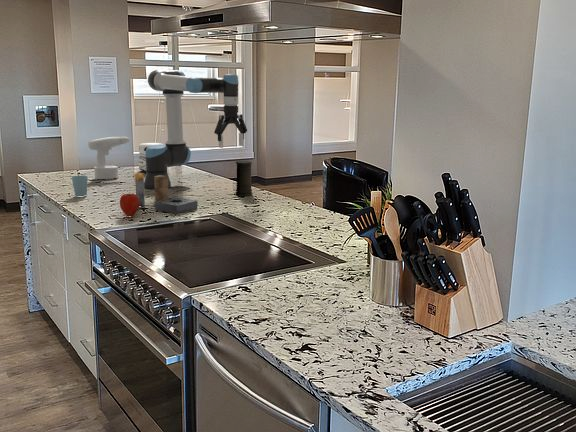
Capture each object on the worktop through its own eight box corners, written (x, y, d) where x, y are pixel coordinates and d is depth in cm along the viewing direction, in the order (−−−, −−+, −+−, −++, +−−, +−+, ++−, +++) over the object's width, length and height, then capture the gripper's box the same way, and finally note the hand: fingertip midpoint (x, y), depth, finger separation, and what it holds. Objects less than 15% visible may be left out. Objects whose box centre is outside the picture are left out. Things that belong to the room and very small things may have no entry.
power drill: (132, 177, 351) (130, 136, 345) (92, 180, 338) (89, 138, 332) (128, 175, 358) (126, 135, 352) (88, 178, 345) (86, 137, 339)
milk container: (134, 173, 368) (133, 145, 363) (145, 168, 384) (144, 142, 380) (159, 174, 365) (158, 146, 361) (169, 170, 381) (168, 143, 377)
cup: (83, 198, 291) (82, 178, 288) (70, 197, 292) (68, 177, 290) (91, 195, 298) (90, 175, 295) (78, 194, 300) (77, 175, 297)
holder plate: (155, 210, 269) (154, 201, 268) (176, 204, 280) (176, 196, 280) (176, 214, 262) (176, 205, 261) (197, 208, 273) (197, 200, 272)
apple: (134, 213, 261) (133, 190, 259) (143, 217, 256) (142, 193, 253) (116, 216, 256) (115, 192, 253) (126, 220, 250) (125, 195, 247)
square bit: (155, 199, 291) (154, 176, 288) (160, 197, 296) (159, 175, 293) (163, 200, 289) (162, 177, 287) (168, 198, 294) (167, 175, 291)
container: (253, 193, 311) (253, 160, 307) (250, 196, 302) (250, 163, 298) (237, 192, 312) (237, 160, 308) (234, 196, 303) (234, 162, 299)
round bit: (134, 206, 275) (133, 173, 271) (140, 205, 278) (139, 172, 275) (140, 207, 273) (138, 174, 269) (146, 206, 276) (145, 173, 273)
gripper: (216, 106, 280) (216, 149, 286) (254, 104, 298) (253, 145, 303) (206, 105, 286) (207, 147, 291) (244, 104, 303) (244, 144, 308)
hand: (231, 146), depth 297 cm, fingers open, 13 cm apart
